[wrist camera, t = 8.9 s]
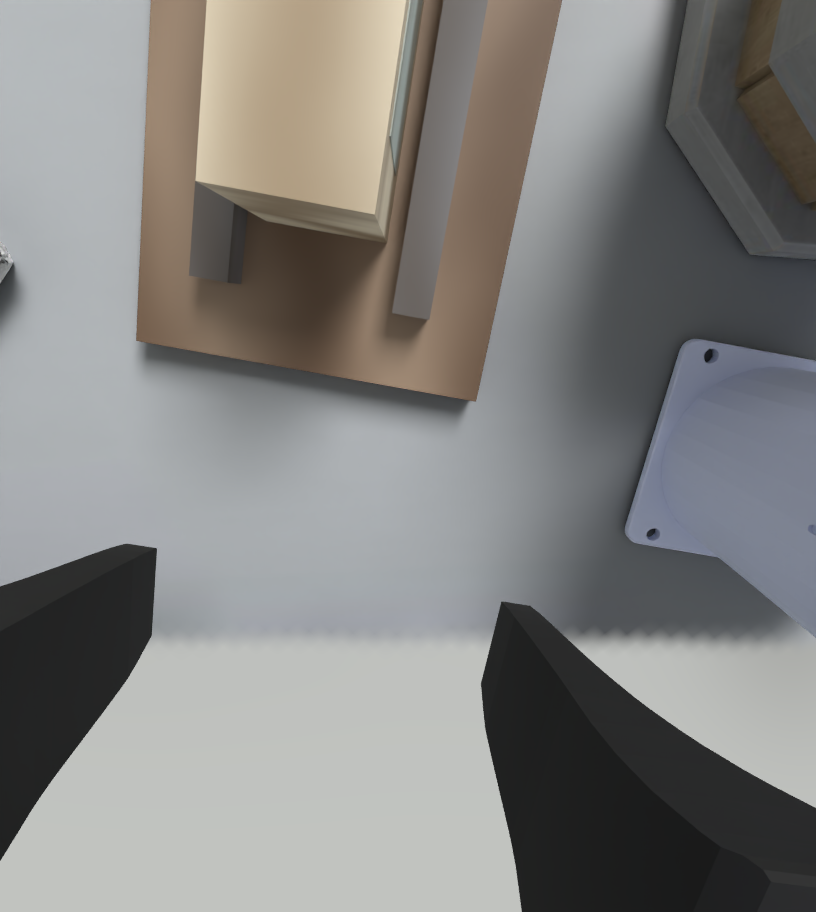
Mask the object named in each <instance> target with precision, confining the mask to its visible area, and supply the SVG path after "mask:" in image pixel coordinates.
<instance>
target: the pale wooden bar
mask: <svg viewBox="0 0 816 912" xmlns="http://www.w3.org/2000/svg"><path fill="white" fill-rule="evenodd" d="M423 6H424V0H207V5H206V21H205V36H204V52H203V68H202V84H201V100H200V116H199V132H198V148H197V164H196V179H195V181H197V182H198V183H200V184H202V185H204V186H205V187H207V188H209V189H211V190H212V191H214V192H216V193H218V194H219V195H221V196H223V197H225V198H226V199H228V200H230V201H232V202H233V203H235V204H237V205H239V206H240V207H242V208H244V209H246V210H247V211H249V212H251V213H253V214H255V215H256V216H258V217H260V218H262V219H263V220H265V221H268V222H274V223H279V224H284V225H290V226H295V227H301V228H306V229H311V230H317V231H322V232H328V233H333V234H338V235H344V236H349V237H354V238H360V239H365V240H371V241H376V242H381V243H387V240H388V234H389V227H390V221H391V214H392V208H393V201H394V195H395V188H396V182H397V175H398V169H399V162H400V156H401V149H402V143H403V136H404V130H405V123H406V117H407V110H408V104H409V97H410V91H411V84H412V78H413V71H414V65H415V58H416V52H417V45H418V39H419V32H420V26H421V19H422V13H423Z"/></svg>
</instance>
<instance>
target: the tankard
mask: <svg viewBox="0 0 816 912" xmlns="http://www.w3.org/2000/svg"><path fill="white" fill-rule="evenodd" d="M666 128H667V130H668V131H669V133H670V134H671V136H672V137H673V139H674V140H675V142H676V143H677V145H678V146H679V148H680V149H681V151H682V152H683V154H684V155H685V157H686V158H687V160H688V162H689V163H690V165H691V166H692V168H693V169H694V171H695V172H696V174H697V175H698V177H699V178H700V180H701V181H702V183H703V184H704V186H705V187H706V189H707V190H708V192H709V193H710V195H711V197H712V198H713V200H714V201H715V203H716V204H717V206H718V207H719V209H720V210H721V212H722V213H723V215H724V216H725V218H726V219H727V221H728V222H729V224H730V225H731V227H732V228H733V230H734V232H735V233H736V235H737V236H738V238H739V239H740V241H741V242H742V244H743V245H744V247H745V248H746V250H747V251H748V253H749V254H750V255H761V256H773V257H786V258H799V259H812V260H816V0H688V2H687V8H686V14H685V19H684V25H683V30H682V36H681V42H680V47H679V53H678V58H677V64H676V70H675V75H674V81H673V86H672V92H671V98H670V103H669V109H668V114H667V120H666Z"/></svg>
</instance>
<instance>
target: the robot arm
mask: <svg viewBox="0 0 816 912" xmlns="http://www.w3.org/2000/svg"><path fill="white" fill-rule="evenodd" d="M709 349H711V350H712V352H713V357H712V358H711V360H710V361H708V362H705V360H704V354H705V352H706V351H707V350H709ZM653 528H656V532H655V533H654V535H652V536H649V537H647V532H648V531H649V530H650V529H653ZM625 534H626V536H627V537H628V538H629V539H630V540H631V541H632V542H634V543H637V544H642V545H648V546H654V547H660V548H666V549H672V550H678V551H683V552H689V553H695V554H701V555H707V556H713V557H719V558H720V559H721V560H722V561H724V562H725V563H726V564H727V565H728V566H730V567H731V568H732V569H733V570H734V571H736V572H737V573H738V574H739V575H741V576H742V577H743V578H744V579H745V580H747V581H748V582H749V583H750V584H751V585H753V586H754V587H755V588H756V589H757V590H759V591H760V592H761V593H762V594H764V595H765V596H766V597H767V598H768V599H770V600H771V601H772V602H773V603H774V604H776V605H777V606H778V607H779V608H780V609H782V610H783V611H784V612H785V613H786V614H788V615H789V616H790V617H791V618H793V619H794V620H795V621H796V622H797V623H799V624H800V625H801V626H802V627H803V628H805V629H806V630H807V631H808V632H809V633H811V634H812V635H813V636H814V637H816V361H815V360H809V359H804V358H798V357H793V356H788V355H782V354H777V353H772V352H766V351H761V350H756V349H750V348H745V347H740V346H734V345H729V344H724V343H718V342H713V341H708V340H702V339H691V340H688V341H686V342H685V343H684V344H683V345H682V347H681V349H680V351H679V354H678V357H677V361H676V364H675V367H674V370H673V374H672V377H671V380H670V383H669V386H668V390H667V393H666V396H665V399H664V403H663V406H662V409H661V412H660V416H659V419H658V422H657V425H656V429H655V432H654V435H653V438H652V441H651V445H650V448H649V451H648V454H647V458H646V461H645V464H644V467H643V471H642V474H641V477H640V480H639V484H638V487H637V490H636V493H635V497H634V500H633V503H632V506H631V509H630V513H629V516H628V519H627V522H626V526H625ZM156 554H157V548H151V547H145V546H138V545H132V544H123V545H119V546H116V547H112V548H109V549H106V550H103V551H100V552H97V553H94V554H92V555H89V556H86V557H83V558H81V559H78V560H75V561H72V562H70V563H67V564H64V565H61V566H59V567H56V568H53V569H50V570H48V571H45V572H42V573H39V574H37V575H34V576H31V577H28V578H25V579H22V580H19V581H16V582H13V583H10V584H7V585H4V586H1V587H0V860H1V859H2V857H3V856H4V854H5V852H6V851H7V849H8V847H9V846H10V844H11V843H12V841H13V839H14V838H15V836H16V834H17V833H18V831H19V830H20V828H21V826H22V824H23V823H24V821H25V820H26V818H27V817H28V815H29V813H30V812H31V810H32V809H33V807H34V805H35V804H36V802H37V801H38V800H39V798H40V797H41V795H42V794H43V792H44V791H45V789H46V788H47V787H48V785H49V784H50V782H51V781H52V779H53V778H54V777H55V775H56V774H57V773H58V771H59V770H60V769H61V767H62V766H63V764H64V763H65V762H66V761H67V759H68V758H69V757H70V755H71V754H72V753H73V751H74V750H75V749H76V747H77V746H78V745H79V743H80V742H81V741H82V740H83V738H84V737H85V735H86V734H87V733H88V732H89V730H90V729H91V727H92V726H93V725H94V724H95V722H96V721H97V720H98V718H99V717H100V716H101V714H102V713H103V712H104V710H105V709H106V707H107V706H108V705H109V703H110V702H111V701H112V699H113V698H114V697H115V695H116V694H117V692H118V691H119V690H120V688H121V687H122V685H123V684H124V683H125V682H126V680H127V679H128V677H129V675H130V673H131V672H132V670H133V668H134V667H135V665H136V663H137V662H138V660H139V658H140V656H141V654H142V652H143V651H144V649H145V647H146V645H147V643H148V641H149V639H150V638H151V636H152V620H153V604H154V587H155V571H156ZM481 687H482V700H483V711H484V720H485V728H486V734H487V739H488V743H489V747H490V752H491V756H492V761H493V765H494V770H495V774H496V778H497V782H498V786H499V791H500V795H501V800H502V803H503V808H504V812H505V817H506V821H507V825H508V829H509V834H510V838H511V843H512V848H513V854H514V859H515V864H516V870H517V878H518V886H519V893H520V900H521V908H522V912H816V808H815V807H812V806H811V805H809V804H807V803H805V802H803V801H801V800H799V799H797V798H795V797H793V796H791V795H789V794H787V793H785V792H784V791H782V790H780V789H777V788H776V787H774V786H772V785H770V784H768V783H766V782H765V781H763V780H761V779H759V778H757V777H755V776H754V775H752V774H750V773H748V772H747V771H744V770H743V769H741V768H739V767H738V766H736V765H735V764H733V763H731V762H730V761H728V760H726V759H725V758H723V757H721V756H720V755H718V754H716V753H714V752H713V751H711V750H710V749H708V748H706V747H704V746H703V745H701V744H700V743H698V742H697V741H695V740H694V739H692V738H691V737H689V736H688V735H686V734H685V733H683V732H682V731H680V730H679V729H677V728H676V727H675V726H673V725H672V724H670V723H669V722H667V721H666V720H665V719H663V718H662V717H660V716H659V715H658V714H656V713H655V712H653V711H652V710H650V709H649V708H648V707H646V706H645V705H644V704H642V703H641V702H640V701H639V700H637V699H636V698H634V697H633V696H632V695H631V694H629V693H628V692H627V691H626V690H625V689H623V688H622V687H621V686H620V685H618V684H617V683H616V682H615V681H614V680H613V679H611V678H610V677H609V676H608V675H607V674H605V673H604V672H603V671H602V670H601V669H600V668H599V667H597V666H596V665H595V664H594V663H593V662H592V661H591V660H589V659H588V658H587V657H586V656H585V655H584V654H583V653H582V652H581V651H580V650H578V649H577V648H576V647H575V646H574V645H573V644H572V643H571V642H570V641H569V640H568V639H567V638H566V637H564V636H563V635H562V634H561V633H560V632H559V631H558V630H557V629H556V628H555V627H554V626H553V625H552V624H551V623H549V622H548V621H547V620H546V619H545V618H544V617H543V616H542V615H541V614H539V613H538V612H537V611H536V610H535V609H533V608H532V607H531V606H527V605H521V604H514V603H508V602H501V606H500V610H499V614H498V618H497V622H496V626H495V630H494V634H493V638H492V642H491V646H490V650H489V654H488V658H487V662H486V666H485V670H484V674H483V678H482V682H481Z"/></svg>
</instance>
